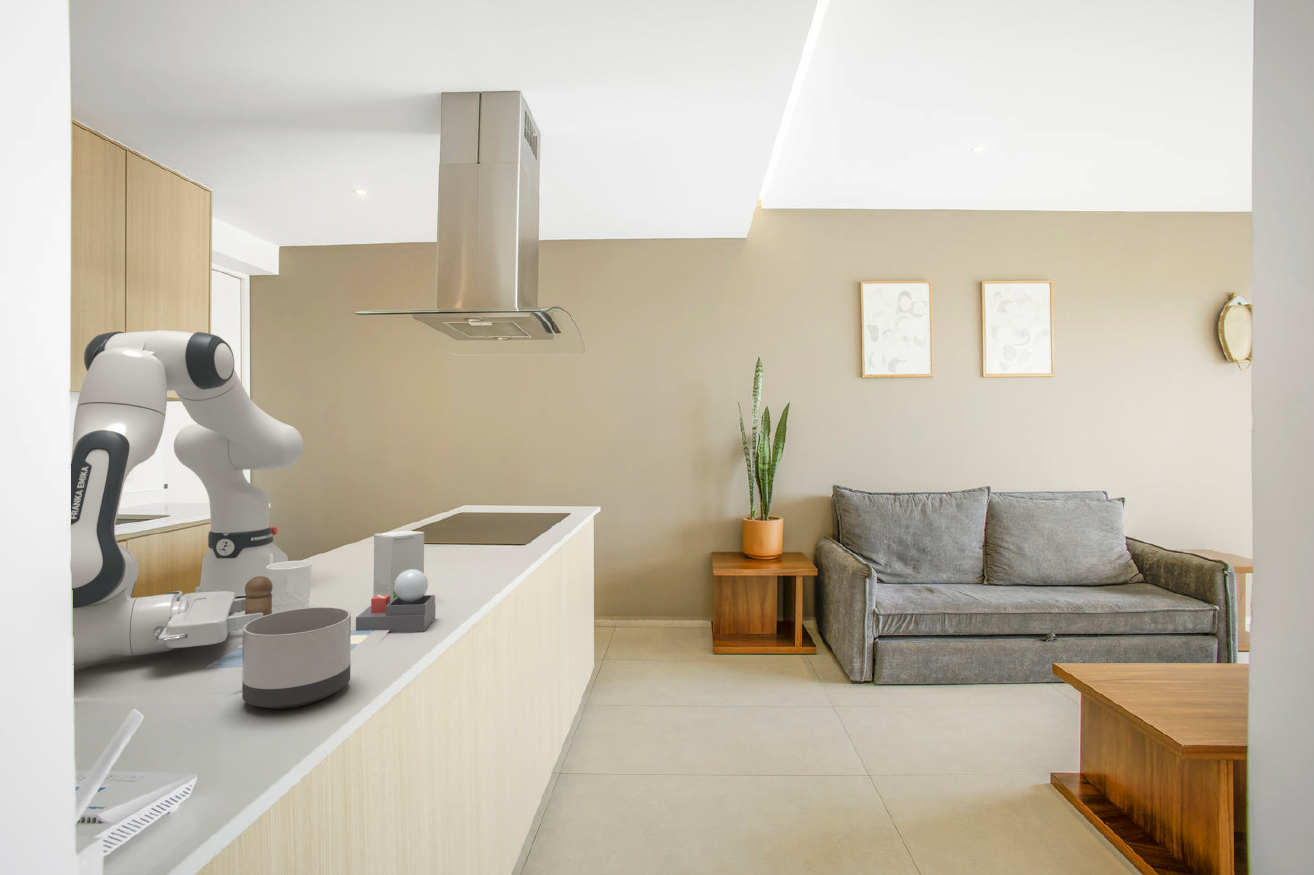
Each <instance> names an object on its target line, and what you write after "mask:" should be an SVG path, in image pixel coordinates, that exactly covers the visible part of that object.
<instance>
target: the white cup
mask: <svg viewBox="0 0 1314 875" xmlns="http://www.w3.org/2000/svg"><path fill="white" fill-rule="evenodd" d="M312 563H313V562H311V561H309V560H288V561H287V562H279V563H274V564H270V565H268V566H266V577H267V578H268V579H270V580H271V582H272V584H273V589H272V592H271V594H272V614H273V613H277V612H282V611H287V610H294V609H302V608H309V603H310V601H309V600H310V597H311V596H310V595H311V583H312V569H313V568H312V567H313V564H312Z"/></svg>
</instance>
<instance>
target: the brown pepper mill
mask: <svg viewBox="0 0 1314 875" xmlns="http://www.w3.org/2000/svg"><path fill="white" fill-rule="evenodd" d="M272 589H273V584H272V582H271V580H270V579H268V578H267V577H264V576H257V577H254V578H252V579H250V580H249V581H248V582H247V584H246V586H245V594H246V596H244V598H245V611H244V615H247V614H250V613H253V612H263V616H266V615H269V614H272V594H271V592H272Z"/></svg>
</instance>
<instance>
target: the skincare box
mask: <svg viewBox="0 0 1314 875" xmlns="http://www.w3.org/2000/svg"><path fill="white" fill-rule="evenodd" d="M424 563H425V532H424V531H417V530H416V531H414V530H400V531H399V530H398V531H389V532H380V533H374V534H373V592H372V594H373V595H372V598H373V597H374V596H376V595H390V602H391V601H392V600H393V599H395V598H396V597H397V595H396V594H395V591H394V583H395V580H396V578H397V577H398V576H399V575H400V574H401V573H402V572H404V571H406V570H410V569H415V570H419V571H421V572H422V573H424V574H425V564H424Z"/></svg>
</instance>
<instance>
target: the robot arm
mask: <svg viewBox="0 0 1314 875" xmlns="http://www.w3.org/2000/svg"><path fill="white" fill-rule="evenodd" d="M83 361H84V366H85V369H86V372H87V373H86V375H85V377H84V379H83V382H82V385H81V389H80V392H79V394H78V400H77V403H76V404H77V406H76V409H75V413H74V414H75V415H74V420H73V421H74V422H73V432H72V435H73V436H72V450H71V461H70V465H71V571H72V590H73V636H74V664H73V665H77V664H86V663H87V664H88V663H92V662H94V663H95V662H98V661H102V660H104V659H107V658H110V657H116V656H124V657H125V656H126V657H135V656H142V655H143V656H144V655H148V654H155V653H156V654H157V653H162V652H169V651H170V652H171V651H173V650H174V649H179V648H189V647H200V646H209V645H215V644H220V643H222V642H225V641H226V640H227V637H228V634H229V633H230V632H235V631H240V630H243V626H244V625H245V624H247V623H248V622H250V621H252V620H254V619H257V618H259V617H262V616H263V612H253V613H250V614H247V615H245V614H241V615H235V613H242V612H245V597H246V594H245V586H246V584H247V582H248V581H249V580H250V579H252V578H254V577H257V576H264V577H266V566H268V565H270V564H274V563H279V562H287V561H289V558H288V554H286V553H285V552H284V551H283V550H281V549H280V548H279V547H278V546H277V545H276V544H275V543H274V542H275V541H274V537H273V536H277V535H278V533H279V528H278V527H277V526H272V527H271V526H270V499H269V496H268V494H267V493H266V491H264V490H263V489H261V488H260V487H258V486H256V485H253V484H251V483H250V482H249V481H248V480H247V478H246V477H245V475H244V471H243V470H246V471H248V470H250V471H251V470H252V471H253V470H258V471H259V470H261V471H262V470H263V471H264V470H265V471H266V470H276V469H282V468H286V467H291V466H292V467H293V466H294V465H295V464H296V463H297V462H298V461H299V460H300V459H301V458H302V457H301V456H303V452H304V440H303V437H302V435H301V433H300V432H299V431H298V430H297V428H296V427H294V425H293V426H292V425H289V424H287V423H284V422H282V421H280V420H278V419H276V418H275V417H272V416H271V415H270V414H268V413H267V412H265V411H264V410H263V409H262V408H260V407H259V406H258V404H256V403H255V402H254V401H253V400H252V399H251V398H250V396H249V394H248V393H247V391H246V388H245V387H244V385H243V383H242V382H241V380H240V378H239V376H238V374H237V371H236V370H235V357H234V352H233V349H232V348H231V346H230V344H229V343H228V342H226V341H225V340H224V339H223V338H222V337H221V336H219V335H215V334H212V333H207V332H202V331H197V332H195V333H194V332H189V331H181V330H179V331H178V330H163V329H162V330H161V329H157V330H149V331H148V330H144V331H143V330H142V331H131V332H130V331H129V332H123V331H110V332H105V333H102V334H98V335H97V336H94V338H93V339H92V340H91V341H90V342H89V343H88V344H87V346H86V347H85V350H84V355H83ZM168 391H174V392H175V393H176V395H177V396H178V398H179V400H180V401H181V404H182V405H183V407H184V408H185V410H186V411H187V413H188V415H189V416H190V418H191V419H192V420H193V422H195V423H194V424H189V425H186V426H183V427H182V428H181V429H180V430H179V432H178V433H177V434H176V436H175V438H174V441H173V450H174V451H173V452H174V454H175V456H176V458H177V459H178V461H179V462H180V463H181V464H182V465H183V466H185V467H186V468H188V469H190V470H191V471H192V472H193V473H194V474H195V475H196V476H197V477H198V478H199V479H200V481H201V483H202V485H203V486H204V488H205V491H206V493H207V496H208V500H209V508H210V510H209V511H210V512H209V513H210V531H209V532H208V537H207V547H208V548H209V550H208V552H207V553H205V555H204V556H203V558H202V564H201V566H202V567H201V575H200V585H198V586H195V588H194V589H195V590H194V592H190V593H189V592H188V593H185V594H183V591H181V590H176V591H168V592H165V593H163V594H157V595H151V596H150V595H149V596H140V597H139V596H138V597H132V596H133V592H134V589H135V587H136V586H135V585H136V583H137V579H138V576H139V573H140V572H139V571H140V570H139V567H140V566H139V561H138V560H137V557H136V556H135V554H133V552H132V551H131V550H129V548H126V547H125V546H122V545H120V544H119V543H118V541H117V539H116V533H115V530H116V524H117V520H118V514H119V509H120V503H121V500H122V495H123V489H124V485H125V483H126V480H127V477H128V476H129V474H130V473H131V472H132V471H133V470H134V468H135V467H137V466H139V465H140V464H142V463H144V462H146V461H147V460H149V459H150V458H151V457H152V456H154V455H155V453H156V450H157V448H158V446H159V443H160V440H161V438H162V435H163V432H164V426H165V421H166V413H167V406H168V404H167V401H168ZM217 590H218V591H217ZM238 597H240V598H238ZM243 597H244V598H243Z"/></svg>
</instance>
